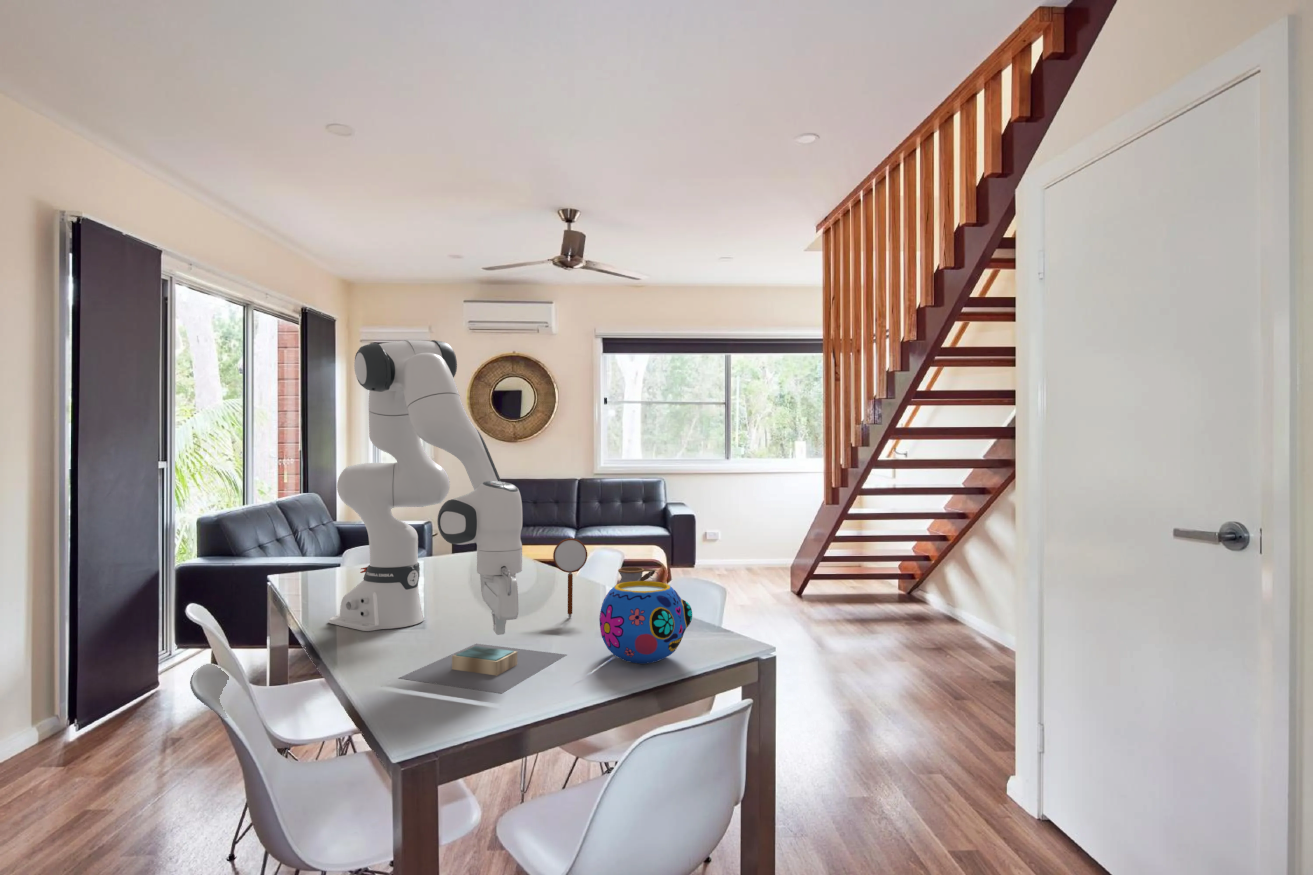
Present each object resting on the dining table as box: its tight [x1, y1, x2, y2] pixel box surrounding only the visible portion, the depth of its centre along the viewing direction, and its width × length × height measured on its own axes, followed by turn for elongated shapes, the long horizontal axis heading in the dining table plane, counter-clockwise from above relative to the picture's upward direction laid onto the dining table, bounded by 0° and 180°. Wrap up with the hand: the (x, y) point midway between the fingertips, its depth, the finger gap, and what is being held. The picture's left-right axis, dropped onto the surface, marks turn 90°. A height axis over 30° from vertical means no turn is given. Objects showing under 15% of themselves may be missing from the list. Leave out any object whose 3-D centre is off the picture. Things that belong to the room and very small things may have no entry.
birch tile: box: [452, 646, 517, 675], centre depth 132 cm, size 10×3×7 cm
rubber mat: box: [398, 643, 567, 694], centre depth 133 cm, size 22×24×1 cm
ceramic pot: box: [598, 580, 693, 665], centre depth 139 cm, size 18×18×15 cm
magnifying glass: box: [552, 537, 588, 618], centre depth 174 cm, size 9×2×20 cm, turn 102°
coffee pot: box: [617, 566, 660, 584], centre depth 166 cm, size 21×12×15 cm, turn 22°
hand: (499, 632), depth 136 cm, fingers closed
